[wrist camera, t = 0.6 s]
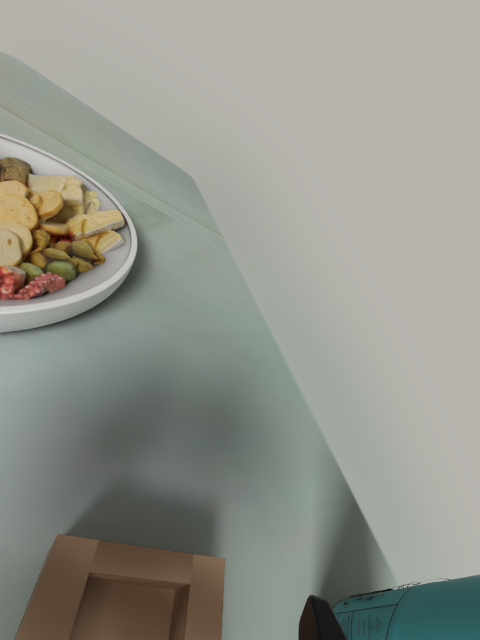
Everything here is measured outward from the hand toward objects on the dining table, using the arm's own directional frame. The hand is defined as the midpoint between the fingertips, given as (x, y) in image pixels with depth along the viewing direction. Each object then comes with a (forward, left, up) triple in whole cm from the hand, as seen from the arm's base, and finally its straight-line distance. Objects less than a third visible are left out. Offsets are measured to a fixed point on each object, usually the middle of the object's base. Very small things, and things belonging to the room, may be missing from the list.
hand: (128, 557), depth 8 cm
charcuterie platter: (+28, +19, -17) cm, 38 cm away
